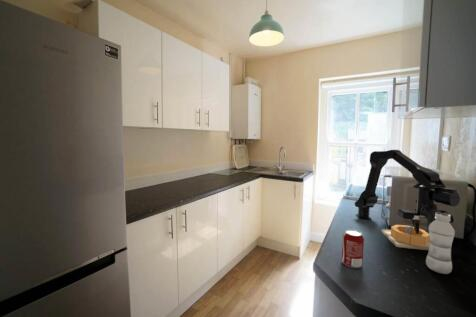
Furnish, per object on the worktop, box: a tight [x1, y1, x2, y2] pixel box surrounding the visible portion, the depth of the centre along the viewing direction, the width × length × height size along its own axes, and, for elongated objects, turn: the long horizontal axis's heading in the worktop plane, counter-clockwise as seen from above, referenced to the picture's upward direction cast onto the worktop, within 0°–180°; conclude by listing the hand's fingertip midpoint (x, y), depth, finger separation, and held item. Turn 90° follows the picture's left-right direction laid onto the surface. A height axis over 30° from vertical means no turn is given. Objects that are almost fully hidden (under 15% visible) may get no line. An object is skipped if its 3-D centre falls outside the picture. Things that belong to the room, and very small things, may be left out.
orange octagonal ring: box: [390, 224, 430, 245], centre depth 98 cm, size 13×13×4 cm
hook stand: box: [380, 225, 430, 251], centre depth 98 cm, size 16×16×6 cm
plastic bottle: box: [425, 213, 456, 275], centre depth 74 cm, size 6×7×20 cm
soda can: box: [341, 228, 365, 269], centre depth 78 cm, size 7×7×12 cm
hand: (423, 234), depth 97 cm, fingers open, 4 cm apart
